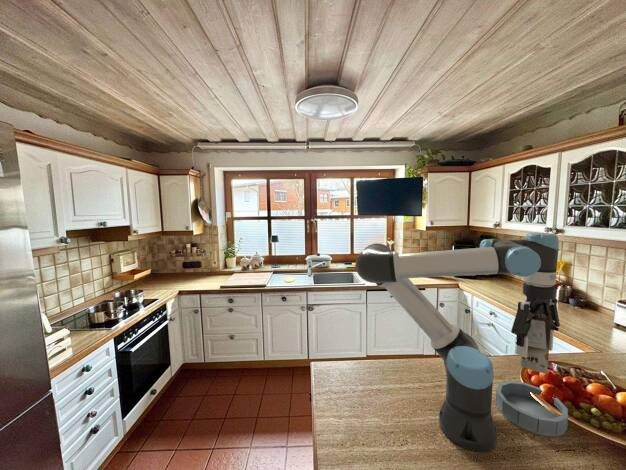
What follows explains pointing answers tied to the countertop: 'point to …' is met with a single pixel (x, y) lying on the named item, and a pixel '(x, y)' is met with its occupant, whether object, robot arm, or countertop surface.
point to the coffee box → (538, 344)
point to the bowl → (530, 409)
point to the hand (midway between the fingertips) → (534, 351)
